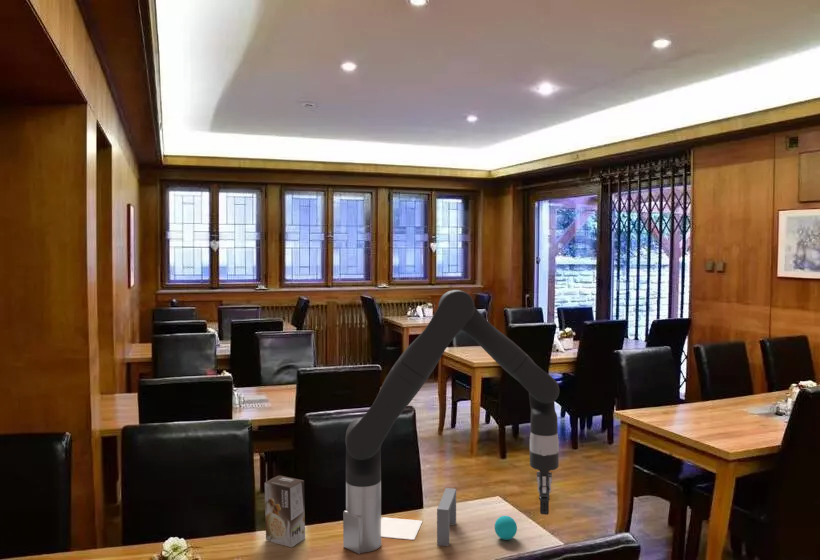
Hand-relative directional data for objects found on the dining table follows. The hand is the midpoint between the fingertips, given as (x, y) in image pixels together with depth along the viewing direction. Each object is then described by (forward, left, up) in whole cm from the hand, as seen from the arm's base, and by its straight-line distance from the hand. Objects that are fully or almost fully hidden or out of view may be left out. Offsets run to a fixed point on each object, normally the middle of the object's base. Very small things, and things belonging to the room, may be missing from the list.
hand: (544, 513), depth 165 cm
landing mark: (-20, +35, -8) cm, 41 cm away
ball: (-5, +9, -5) cm, 11 cm away
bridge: (-13, +23, -8) cm, 27 cm away
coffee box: (-45, +53, -8) cm, 70 cm away
